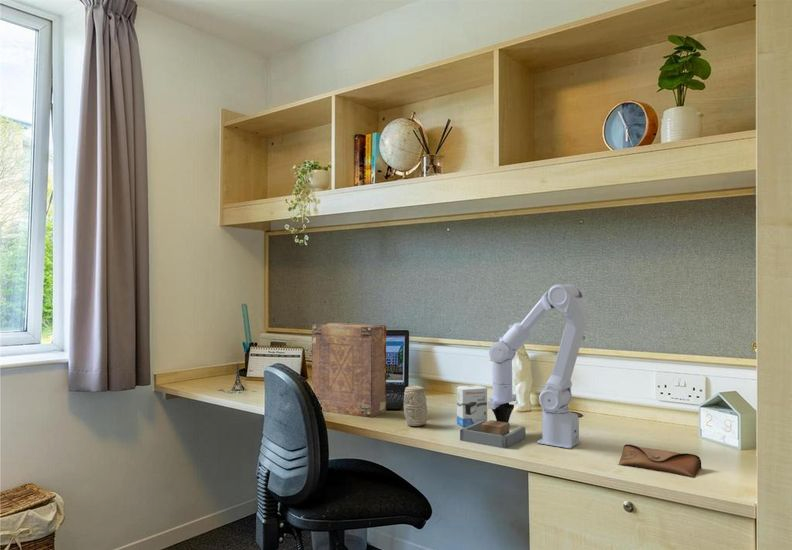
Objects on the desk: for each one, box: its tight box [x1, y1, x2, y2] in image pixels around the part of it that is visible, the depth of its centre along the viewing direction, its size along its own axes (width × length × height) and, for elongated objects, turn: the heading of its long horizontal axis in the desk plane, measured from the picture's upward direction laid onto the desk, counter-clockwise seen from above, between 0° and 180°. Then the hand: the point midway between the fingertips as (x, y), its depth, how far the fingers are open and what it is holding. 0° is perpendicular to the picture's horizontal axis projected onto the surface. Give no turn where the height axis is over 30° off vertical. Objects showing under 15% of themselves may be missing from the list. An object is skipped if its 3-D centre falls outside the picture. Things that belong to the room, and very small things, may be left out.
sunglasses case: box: [617, 443, 702, 479], centre depth 143 cm, size 18×7×7 cm, turn 56°
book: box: [311, 322, 387, 418], centre depth 205 cm, size 25×9×30 cm, turn 59°
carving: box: [403, 385, 428, 427], centre depth 184 cm, size 6×8×12 cm
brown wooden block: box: [481, 419, 510, 436], centre depth 169 cm, size 6×6×4 cm
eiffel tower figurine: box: [219, 361, 254, 395], centre depth 244 cm, size 15×10×13 cm
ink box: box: [456, 385, 488, 428], centre depth 185 cm, size 8×5×12 cm, turn 105°
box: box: [459, 421, 526, 449], centre depth 168 cm, size 14×13×3 cm
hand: (502, 429), depth 173 cm, fingers closed
